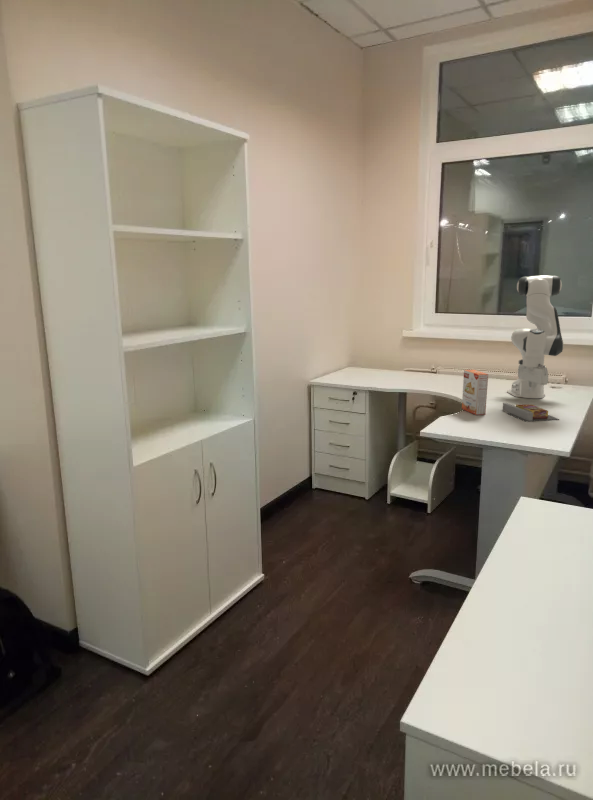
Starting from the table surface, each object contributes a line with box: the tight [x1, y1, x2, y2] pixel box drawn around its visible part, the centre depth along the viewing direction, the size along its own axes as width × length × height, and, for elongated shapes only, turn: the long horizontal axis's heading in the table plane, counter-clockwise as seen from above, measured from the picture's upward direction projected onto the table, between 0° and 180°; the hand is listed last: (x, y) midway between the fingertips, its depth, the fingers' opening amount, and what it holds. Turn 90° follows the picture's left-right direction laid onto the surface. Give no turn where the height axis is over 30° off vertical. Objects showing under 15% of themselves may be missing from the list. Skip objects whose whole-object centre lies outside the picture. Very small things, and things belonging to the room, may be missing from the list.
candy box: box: [515, 403, 549, 419], centre depth 283 cm, size 9×4×15 cm
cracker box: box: [461, 369, 489, 416], centre depth 289 cm, size 14×6×21 cm, turn 13°
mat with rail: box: [502, 402, 560, 422], centre depth 285 cm, size 23×18×4 cm
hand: (531, 390), depth 282 cm, fingers closed
